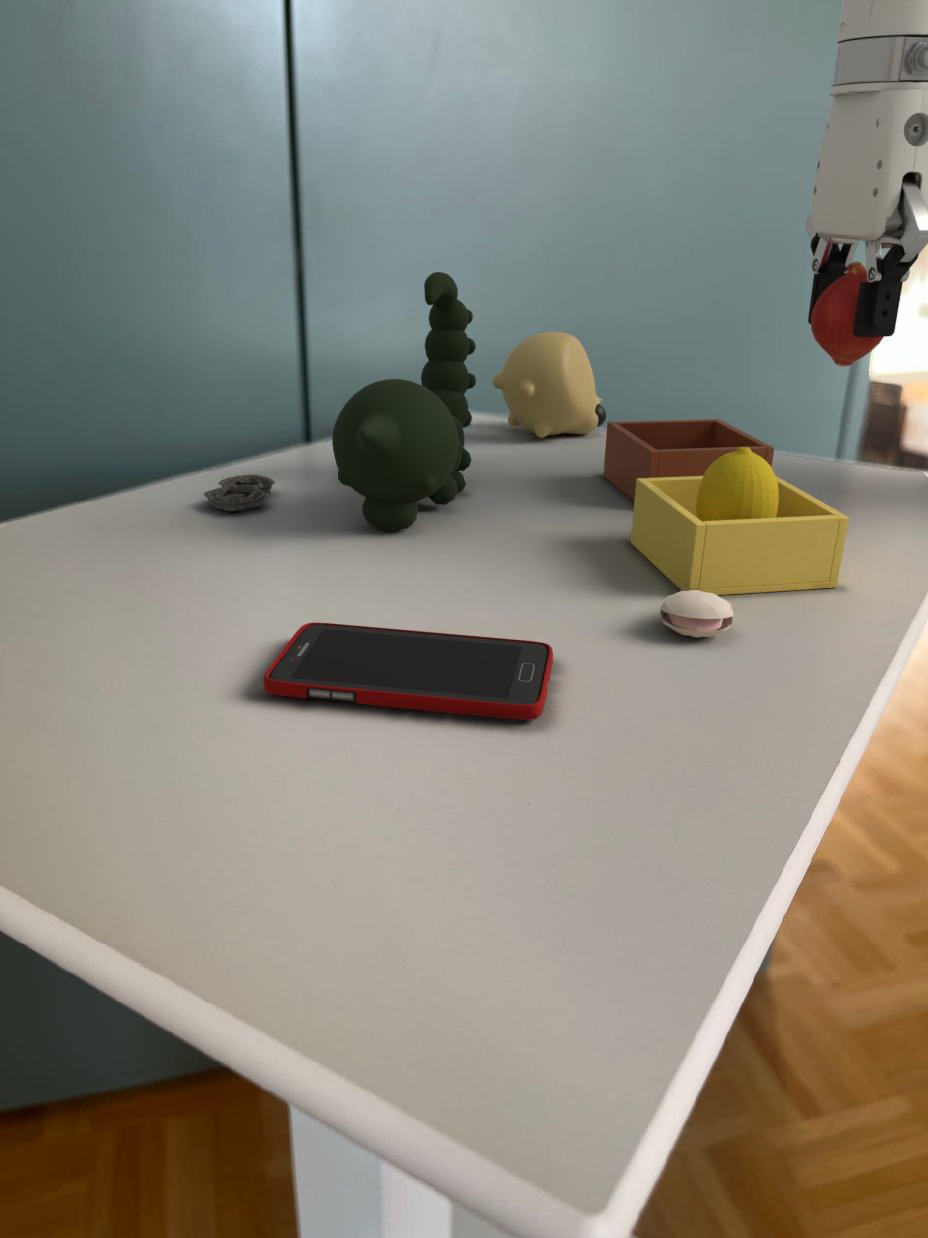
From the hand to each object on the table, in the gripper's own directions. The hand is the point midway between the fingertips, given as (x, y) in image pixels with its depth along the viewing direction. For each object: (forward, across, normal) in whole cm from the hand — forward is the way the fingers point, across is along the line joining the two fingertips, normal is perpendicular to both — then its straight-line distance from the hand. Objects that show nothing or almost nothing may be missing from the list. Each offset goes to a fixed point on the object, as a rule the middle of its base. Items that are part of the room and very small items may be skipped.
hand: (849, 327), depth 79 cm
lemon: (+14, -12, +14) cm, 23 cm away
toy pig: (+14, +28, +16) cm, 35 cm away
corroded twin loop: (+13, +8, +48) cm, 51 cm away
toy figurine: (+14, +5, +34) cm, 37 cm away
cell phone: (+14, -26, +40) cm, 49 cm away
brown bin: (+14, +6, +10) cm, 19 cm away
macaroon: (+14, -22, +22) cm, 34 cm away
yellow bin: (+14, -12, +14) cm, 24 cm away
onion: (+3, 0, 0) cm, 3 cm away
